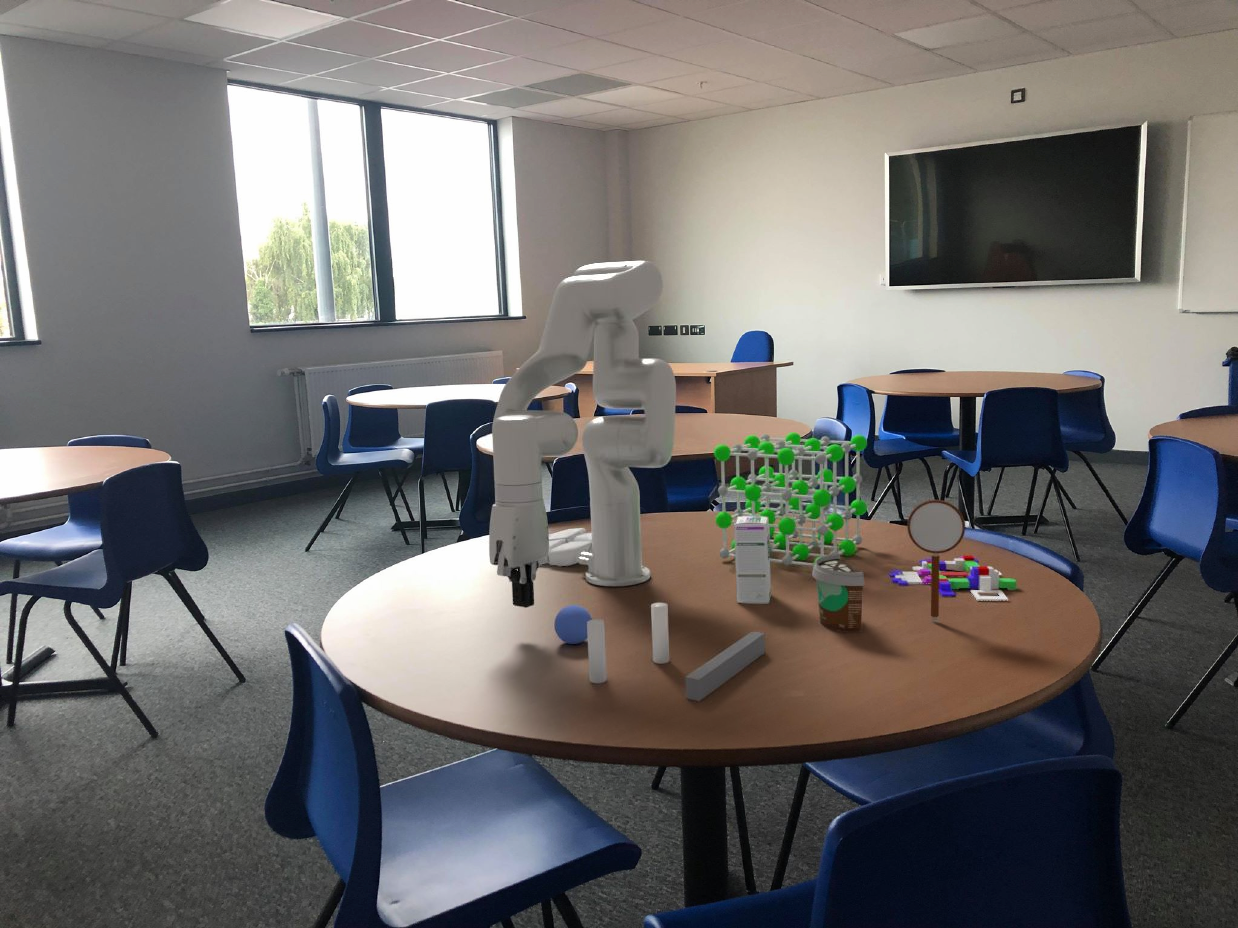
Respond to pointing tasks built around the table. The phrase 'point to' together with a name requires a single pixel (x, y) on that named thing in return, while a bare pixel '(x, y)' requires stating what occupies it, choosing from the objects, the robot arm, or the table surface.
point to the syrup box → (752, 559)
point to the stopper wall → (724, 666)
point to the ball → (572, 624)
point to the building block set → (975, 579)
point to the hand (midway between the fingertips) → (523, 605)
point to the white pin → (660, 632)
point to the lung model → (568, 546)
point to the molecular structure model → (795, 494)
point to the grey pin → (596, 651)
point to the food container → (838, 594)
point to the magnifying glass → (936, 537)
